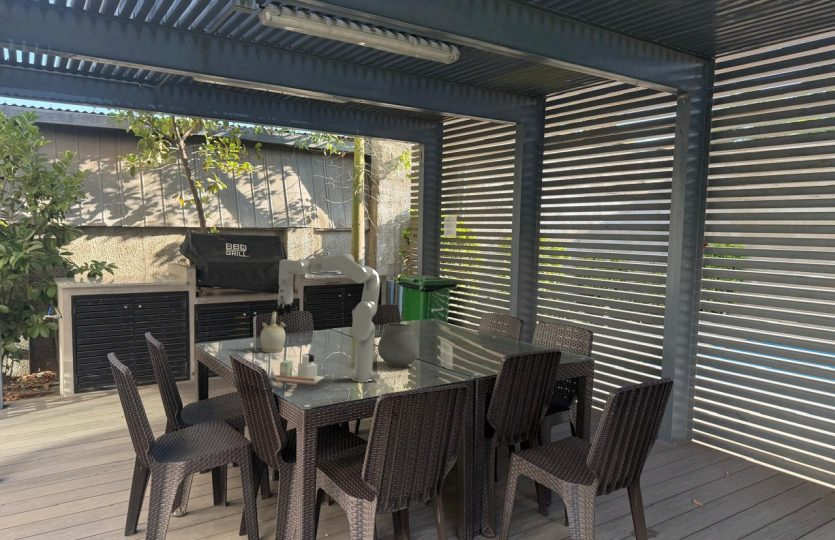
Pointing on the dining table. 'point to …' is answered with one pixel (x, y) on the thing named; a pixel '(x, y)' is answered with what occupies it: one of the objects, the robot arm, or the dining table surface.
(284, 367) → the tea box
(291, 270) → the robot arm
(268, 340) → the jug
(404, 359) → the ceramic pot
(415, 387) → the dining table surface
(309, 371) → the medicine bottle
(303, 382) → the cream flat block
